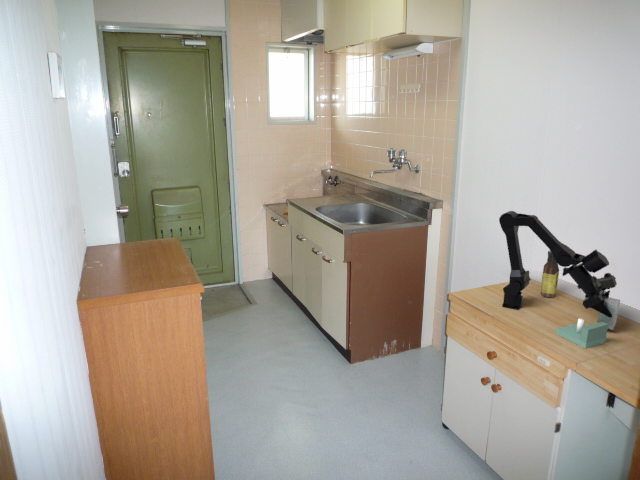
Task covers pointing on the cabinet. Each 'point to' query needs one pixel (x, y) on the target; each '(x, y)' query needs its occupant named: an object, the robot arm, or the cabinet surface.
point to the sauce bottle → (550, 277)
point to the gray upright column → (613, 308)
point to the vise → (584, 333)
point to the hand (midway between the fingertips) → (612, 314)
